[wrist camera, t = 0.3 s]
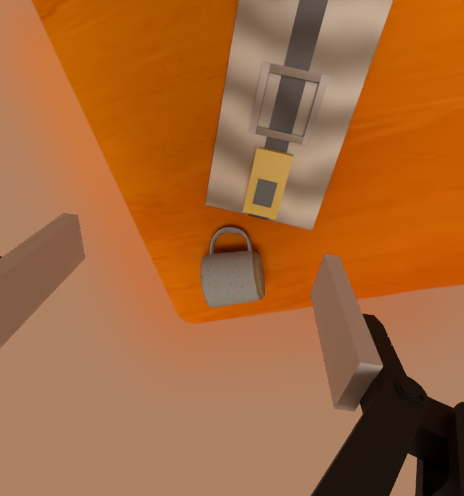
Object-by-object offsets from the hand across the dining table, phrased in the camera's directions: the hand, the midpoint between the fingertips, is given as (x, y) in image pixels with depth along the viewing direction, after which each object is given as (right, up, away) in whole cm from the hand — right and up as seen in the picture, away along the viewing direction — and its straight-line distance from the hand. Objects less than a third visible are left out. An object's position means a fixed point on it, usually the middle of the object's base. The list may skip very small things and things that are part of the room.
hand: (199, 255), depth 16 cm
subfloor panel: (+8, +17, +19) cm, 27 cm away
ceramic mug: (+2, -1, +29) cm, 29 cm away
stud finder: (+6, +9, +22) cm, 24 cm away
